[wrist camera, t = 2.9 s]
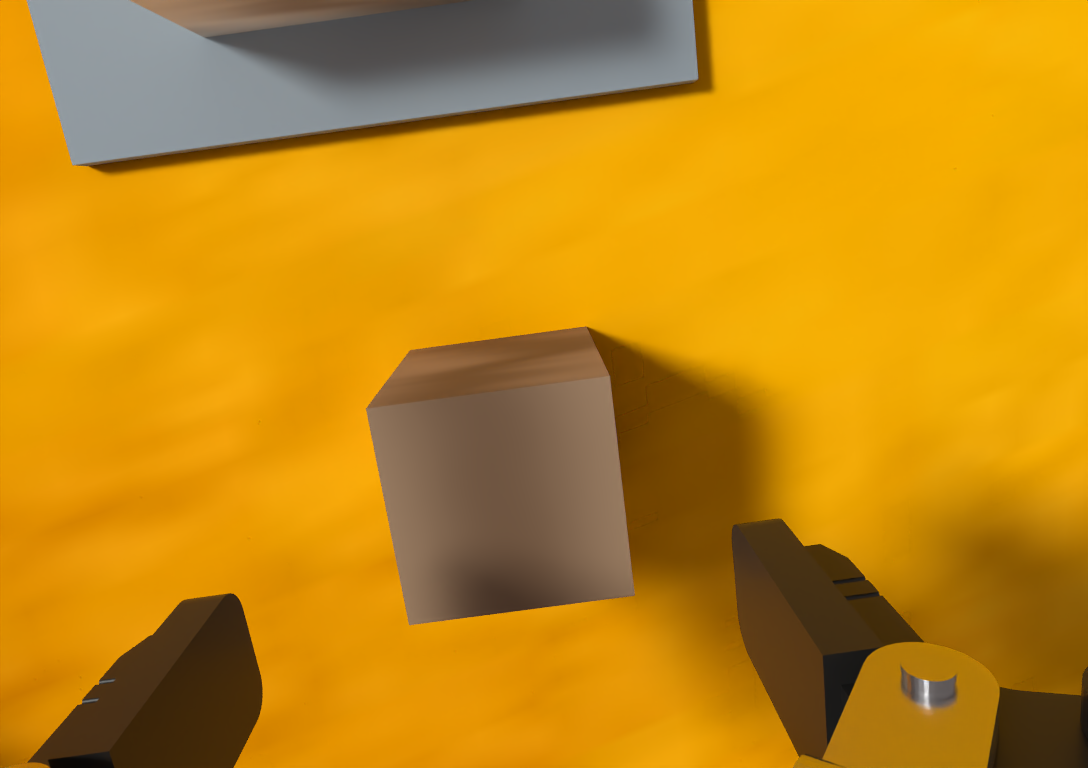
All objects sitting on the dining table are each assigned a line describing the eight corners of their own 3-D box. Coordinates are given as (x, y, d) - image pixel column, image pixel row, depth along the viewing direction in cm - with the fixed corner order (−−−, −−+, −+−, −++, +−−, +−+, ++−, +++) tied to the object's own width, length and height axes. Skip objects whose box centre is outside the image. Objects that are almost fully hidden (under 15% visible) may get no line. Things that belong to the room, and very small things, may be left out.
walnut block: (586, 326, 21) (609, 376, 15) (606, 490, 22) (634, 595, 16) (410, 349, 21) (366, 408, 15) (439, 512, 22) (409, 624, 16)
